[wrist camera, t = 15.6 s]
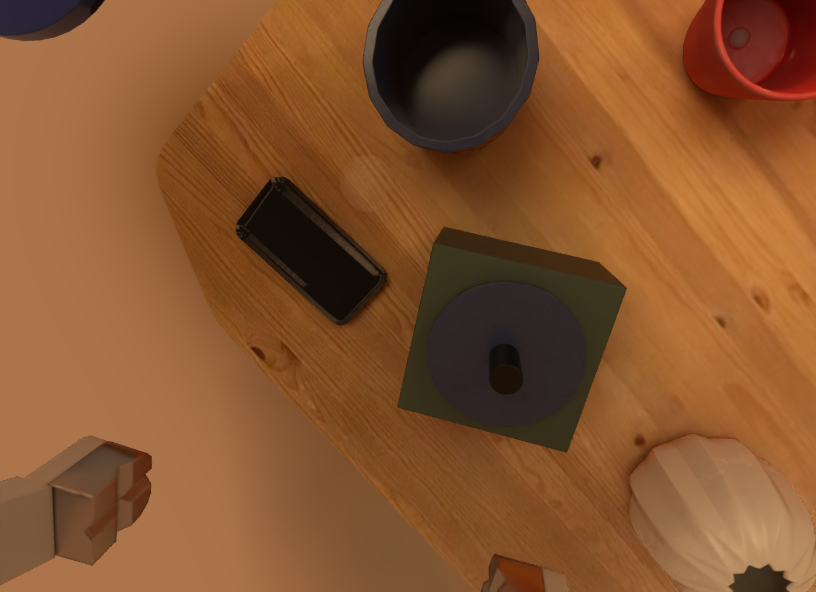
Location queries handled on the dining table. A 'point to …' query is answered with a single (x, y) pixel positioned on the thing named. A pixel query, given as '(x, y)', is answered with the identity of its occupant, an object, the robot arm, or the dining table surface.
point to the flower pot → (754, 49)
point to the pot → (450, 69)
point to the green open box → (501, 260)
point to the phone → (310, 251)
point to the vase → (721, 518)
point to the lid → (506, 353)
